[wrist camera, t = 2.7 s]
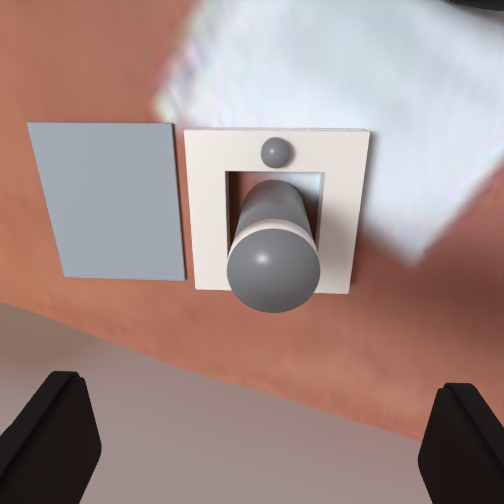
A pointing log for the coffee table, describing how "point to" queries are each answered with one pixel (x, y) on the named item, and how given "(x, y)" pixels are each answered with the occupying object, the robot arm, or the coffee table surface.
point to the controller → (483, 4)
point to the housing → (276, 160)
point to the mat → (112, 198)
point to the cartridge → (273, 250)
